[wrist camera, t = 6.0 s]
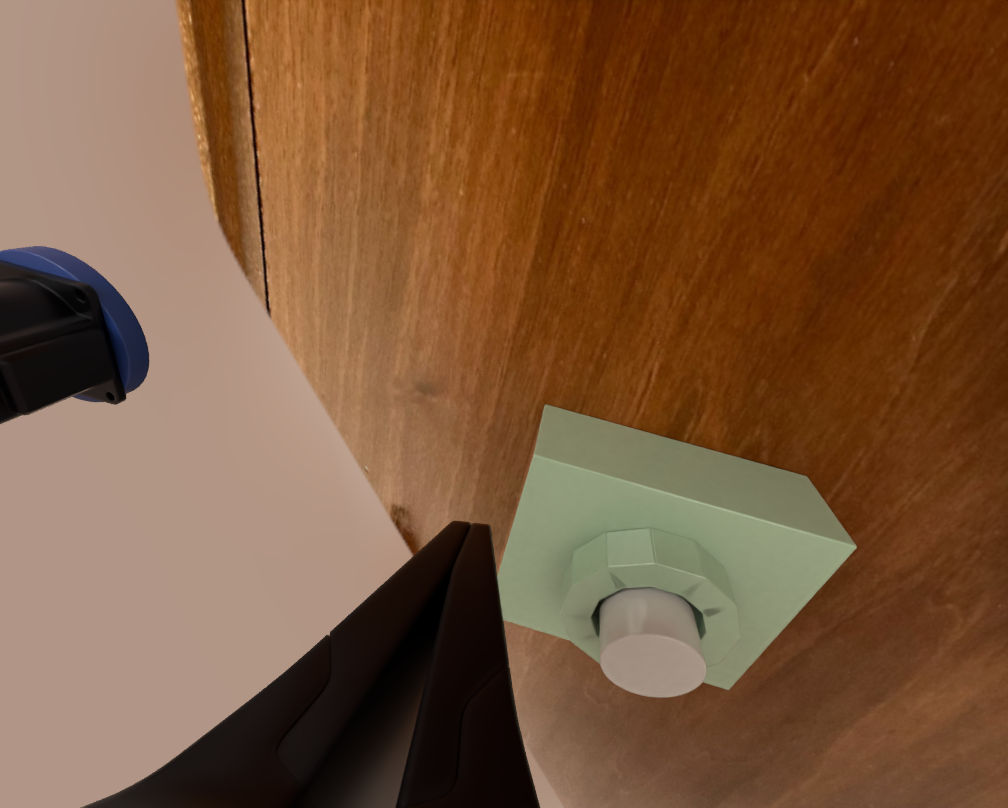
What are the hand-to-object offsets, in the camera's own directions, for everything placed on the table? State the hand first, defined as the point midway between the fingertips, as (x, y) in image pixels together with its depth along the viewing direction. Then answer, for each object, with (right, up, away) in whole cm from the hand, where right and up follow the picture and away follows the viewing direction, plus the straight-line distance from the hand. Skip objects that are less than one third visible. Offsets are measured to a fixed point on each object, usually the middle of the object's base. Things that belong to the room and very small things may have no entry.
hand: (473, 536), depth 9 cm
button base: (+7, -3, +12) cm, 15 cm away
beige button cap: (+6, -5, +7) cm, 11 cm away
